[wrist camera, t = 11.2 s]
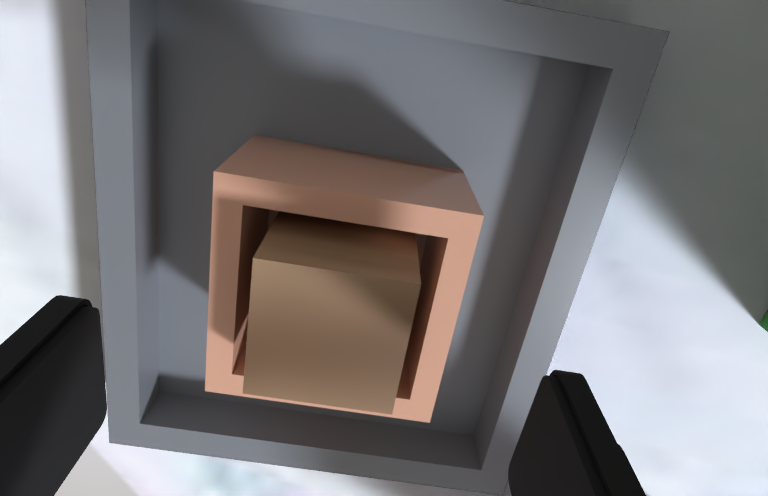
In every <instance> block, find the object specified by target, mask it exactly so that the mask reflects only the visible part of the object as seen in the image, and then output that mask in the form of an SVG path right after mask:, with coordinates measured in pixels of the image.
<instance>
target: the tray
mask: <svg viewBox="0 0 768 496" xmlns="http://www.w3.org/2000/svg"><path fill="white" fill-rule="evenodd" d="M85 6H86V24H87V42H88V61H89V79H90V97H91V115H92V134H93V152H94V170H95V189H96V207H97V225H98V244H99V262H100V280H101V298H102V317H103V335H104V353H105V372H106V390H107V408H108V427H109V443H115V444H122V445H130V446H137V447H145V448H152V449H160V450H167V451H175V452H182V453H190V454H197V455H205V456H212V457H219V458H227V459H234V460H242V461H249V462H257V463H264V464H272V465H279V466H287V467H294V468H302V469H309V470H317V471H324V472H332V473H339V474H347V475H354V476H361V477H369V478H376V479H384V480H391V481H399V482H406V483H414V484H421V485H429V486H436V487H444V488H451V489H459V490H466V491H474V492H481V493H489V494H496V495H503V493H504V490H505V488H506V485H507V482H508V469H509V464H510V461H511V458H512V456H513V453H514V450H515V448H516V445H517V442H518V440H519V437H520V434H521V432H522V429H523V426H524V424H525V421H526V419H527V416H528V413H529V411H530V408H531V405H532V403H533V400H534V397H535V395H536V392H537V389H538V387H539V384H540V381H541V379H542V377H543V376H545V375H546V374H547V371H548V368H549V365H550V363H551V360H552V357H553V354H554V351H555V349H556V346H557V343H558V340H559V337H560V335H561V332H562V329H563V326H564V324H565V321H566V318H567V315H568V312H569V310H570V307H571V304H572V301H573V299H574V296H575V293H576V290H577V287H578V285H579V282H580V279H581V276H582V274H583V271H584V268H585V265H586V262H587V260H588V257H589V254H590V251H591V249H592V246H593V243H594V240H595V237H596V235H597V232H598V229H599V226H600V224H601V221H602V218H603V215H604V212H605V210H606V207H607V204H608V201H609V199H610V196H611V193H612V190H613V187H614V185H615V182H616V179H617V176H618V174H619V171H620V168H621V165H622V162H623V160H624V157H625V154H626V151H627V149H628V146H629V143H630V140H631V137H632V135H633V132H634V129H635V126H636V124H637V121H638V118H639V115H640V112H641V110H642V107H643V104H644V101H645V99H646V96H647V93H648V90H649V87H650V85H651V82H652V79H653V76H654V73H655V71H656V68H657V65H658V62H659V60H660V57H661V54H662V51H663V48H664V46H665V43H666V40H667V37H668V35H669V31H664V30H658V29H653V28H648V27H642V26H637V25H632V24H626V23H621V22H616V21H611V20H605V19H600V18H595V17H589V16H584V15H579V14H574V13H568V12H563V11H558V10H552V9H547V8H542V7H537V6H531V5H526V4H521V3H515V2H510V1H505V0H85ZM254 135H258V136H264V137H270V138H276V139H281V140H287V141H293V142H299V143H305V144H311V145H317V146H323V147H329V148H335V149H340V150H346V151H352V152H358V153H364V154H370V155H376V156H382V157H388V158H393V159H399V160H405V161H411V162H417V163H423V164H429V165H435V166H441V167H447V168H452V169H458V170H463V171H464V173H465V176H466V178H467V180H468V182H469V184H470V186H471V189H472V191H473V193H474V195H475V197H476V199H477V202H478V204H479V206H480V208H481V210H482V212H483V215H484V218H483V222H482V226H481V230H480V234H479V237H478V241H477V245H476V249H475V253H474V256H473V260H472V264H471V268H470V272H469V275H468V279H467V283H466V287H465V291H464V294H463V298H462V302H461V306H460V310H459V313H458V317H457V321H456V325H455V329H454V332H453V336H452V340H451V344H450V348H449V352H448V355H447V359H446V363H445V367H444V371H443V374H442V378H441V382H440V386H439V390H438V393H437V397H436V401H435V405H434V409H433V412H432V416H431V420H430V423H428V422H420V421H413V420H406V419H399V418H392V417H385V416H378V415H371V414H364V413H357V412H350V411H342V410H335V409H328V408H321V407H314V406H307V405H300V404H293V403H286V402H279V401H271V400H264V399H257V398H250V397H243V396H236V395H229V394H222V393H215V392H208V391H205V375H206V350H207V325H208V300H209V275H210V250H211V225H212V200H213V174H214V171H215V170H216V169H217V168H218V167H219V166H220V165H221V164H222V163H223V162H225V161H226V160H227V159H228V158H229V157H230V156H231V155H232V154H234V153H235V152H236V151H237V150H238V149H239V148H240V147H241V146H243V145H244V144H245V143H246V142H247V141H248V140H249V139H250V138H251V137H253V136H254Z"/></svg>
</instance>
